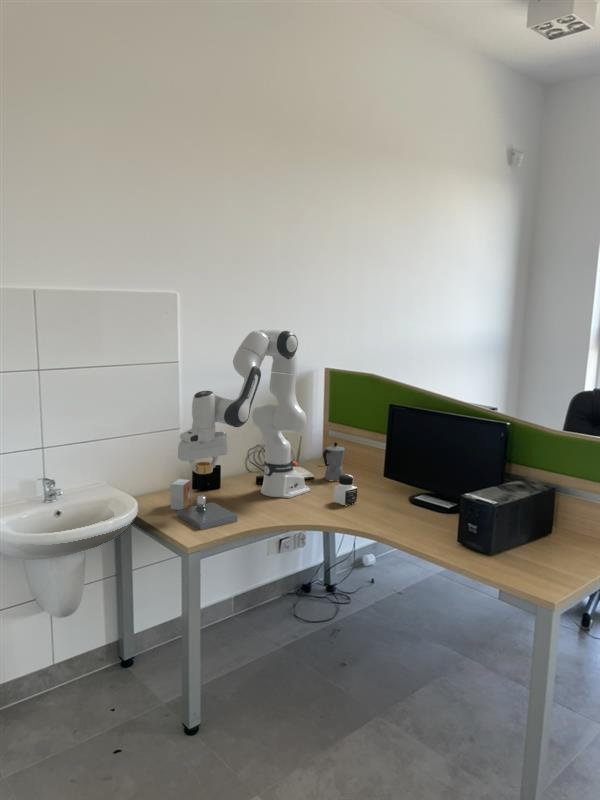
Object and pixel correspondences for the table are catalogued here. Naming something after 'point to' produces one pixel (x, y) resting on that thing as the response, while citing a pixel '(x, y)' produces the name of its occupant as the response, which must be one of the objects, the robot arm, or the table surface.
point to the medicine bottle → (345, 490)
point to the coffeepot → (334, 461)
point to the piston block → (206, 514)
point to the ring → (204, 467)
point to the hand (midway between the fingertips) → (203, 469)
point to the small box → (180, 494)
